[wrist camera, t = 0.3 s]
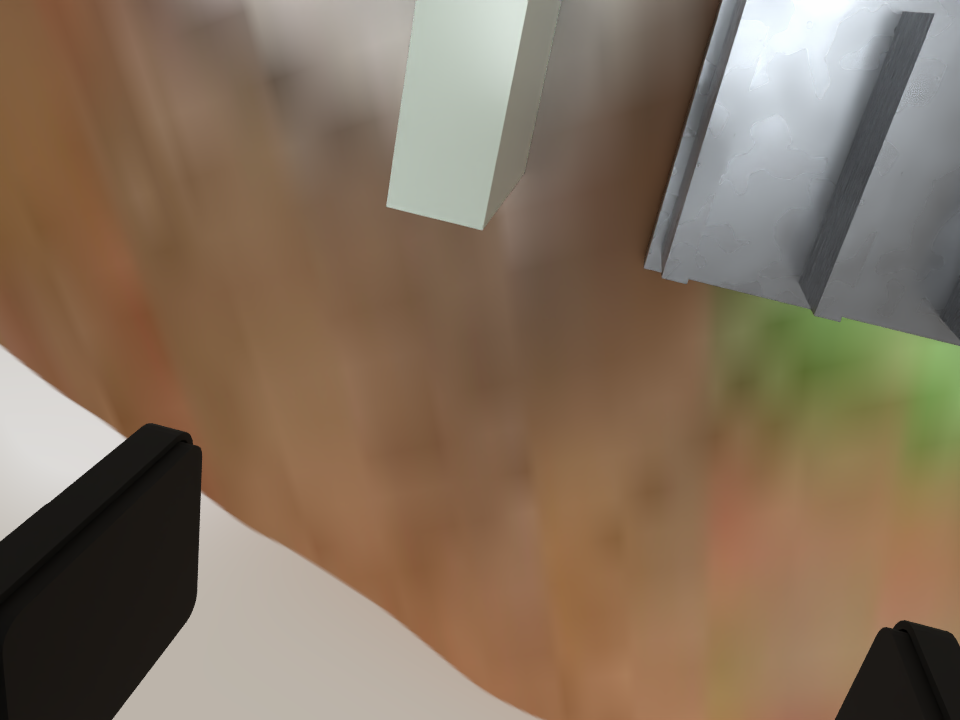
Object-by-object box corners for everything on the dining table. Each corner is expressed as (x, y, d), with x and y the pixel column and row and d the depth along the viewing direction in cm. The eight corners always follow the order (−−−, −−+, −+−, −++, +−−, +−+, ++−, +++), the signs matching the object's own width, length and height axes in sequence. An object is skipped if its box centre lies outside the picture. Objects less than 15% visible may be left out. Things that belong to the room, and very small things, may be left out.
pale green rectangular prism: (483, -34, 34) (422, -44, 25) (565, -17, 34) (532, -20, 25) (450, 156, 38) (386, 206, 29) (524, 173, 37) (482, 230, 29)
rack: (735, -52, 32) (749, -61, 27) (1274, 58, 30) (1393, 71, 25) (644, 258, 38) (642, 298, 33) (1093, 368, 36) (1163, 428, 31)
